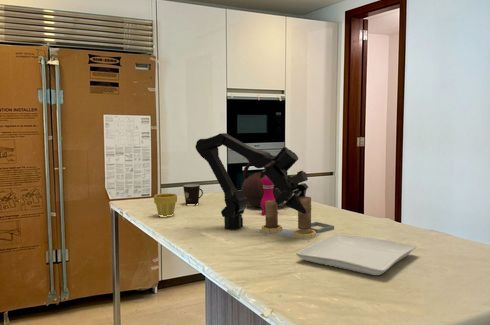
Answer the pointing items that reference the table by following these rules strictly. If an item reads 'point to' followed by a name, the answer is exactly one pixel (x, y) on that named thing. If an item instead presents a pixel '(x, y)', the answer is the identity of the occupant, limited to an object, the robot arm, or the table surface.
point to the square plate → (356, 253)
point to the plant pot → (165, 203)
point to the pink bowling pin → (267, 192)
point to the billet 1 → (271, 214)
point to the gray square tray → (327, 227)
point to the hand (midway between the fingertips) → (308, 211)
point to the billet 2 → (305, 219)
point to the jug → (255, 186)
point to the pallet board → (290, 232)
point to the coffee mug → (192, 193)
